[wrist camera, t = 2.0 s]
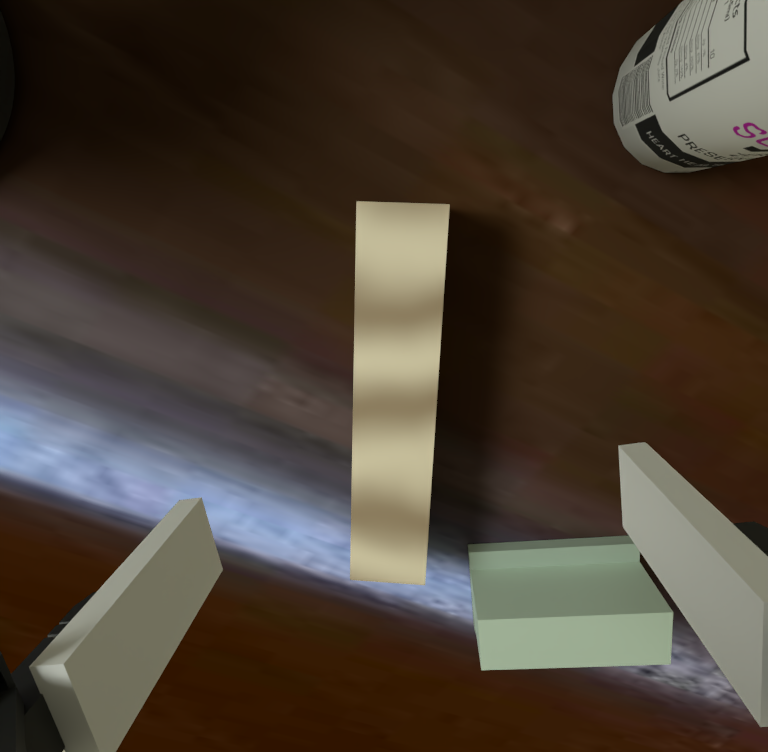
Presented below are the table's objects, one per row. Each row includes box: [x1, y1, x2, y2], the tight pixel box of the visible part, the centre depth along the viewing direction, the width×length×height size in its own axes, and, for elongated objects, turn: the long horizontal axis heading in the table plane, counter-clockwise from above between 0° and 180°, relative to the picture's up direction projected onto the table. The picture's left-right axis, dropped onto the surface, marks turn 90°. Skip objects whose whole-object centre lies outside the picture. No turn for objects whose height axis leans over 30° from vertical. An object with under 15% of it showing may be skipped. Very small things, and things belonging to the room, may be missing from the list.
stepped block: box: [468, 536, 673, 670], centre depth 35 cm, size 12×7×6 cm, turn 96°
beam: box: [350, 201, 450, 585], centre depth 33 cm, size 24×5×5 cm, turn 178°
